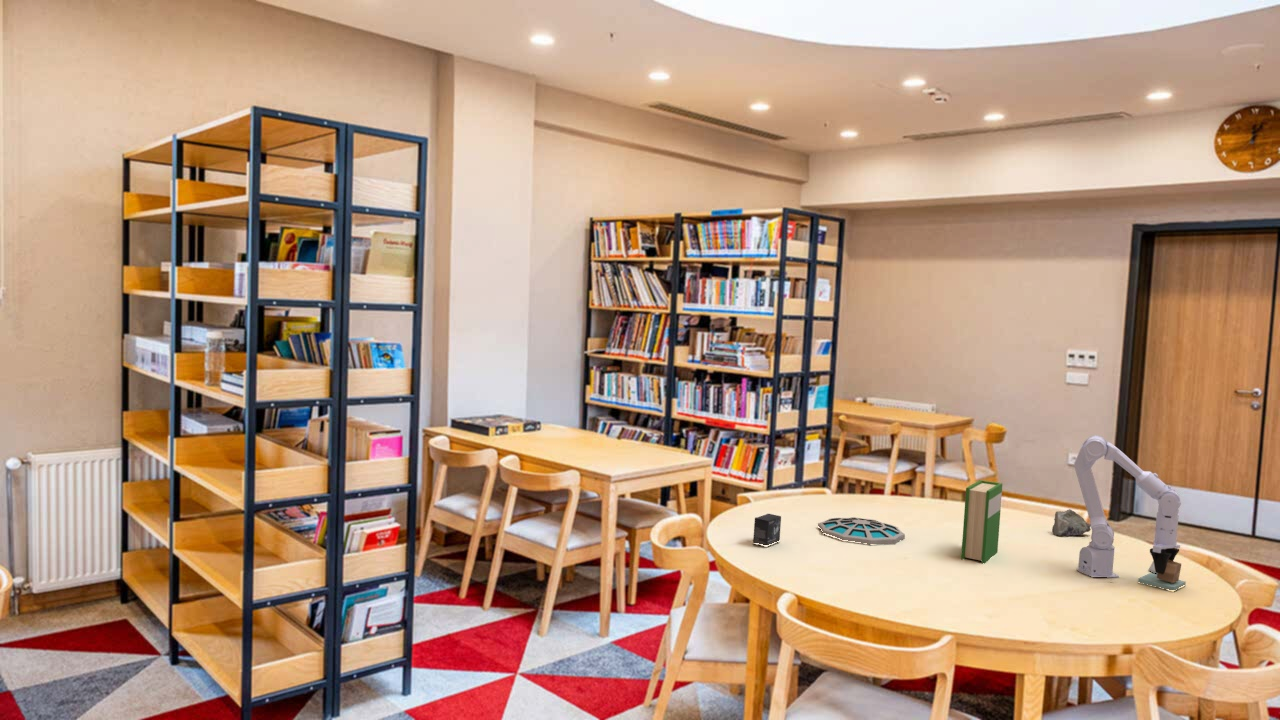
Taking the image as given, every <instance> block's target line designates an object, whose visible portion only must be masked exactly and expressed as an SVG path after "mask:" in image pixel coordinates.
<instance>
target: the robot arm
mask: <svg viewBox="0 0 1280 720" xmlns="http://www.w3.org/2000/svg"><path fill="white" fill-rule="evenodd" d="M1103 457H1104V460H1106V461H1113V462H1115V464H1117V465H1118V466H1120V467H1121V468H1122V469H1123V470H1125V471H1126V472H1128V473H1129V474H1130V475H1131V476H1132V477H1134V479H1135V484H1136V486H1138V488H1140V489H1141V490H1142V491H1143V492H1145V493H1146V494H1147V495H1148V496H1150V498H1151V499H1153V500H1156V501H1157V503H1158V504H1157V505H1158V506H1157V507H1158V509H1157V512H1156V518H1155V530H1154V531H1155V533H1154V540H1153V545H1152V548H1150V549H1149V553H1150V555H1151V557H1152V560H1153V561H1154V566H1155V571H1156V573H1160V574H1164V572H1165V569H1166V565H1167V561H1168V560H1171V561H1174V560H1175V558H1176V556H1177V555H1178V553H1179V552H1180V548H1181V545H1180V544H1178V543H1177V541H1178V539H1177V536H1178V526H1179V513H1180V510H1179V509H1180V507H1181V505H1182V502H1181V499H1180V495H1179V494H1178V493H1177V492H1176V490H1175V489H1173V488H1172V486H1171V485H1170V484H1166V483H1165V482H1163V481H1162V480H1161V478H1159V474H1157V473H1156V472H1154V473H1153V472H1152V471H1149V470H1148V471H1146V470H1143V469H1142V468H1140V467H1139V465H1137V464H1136V463H1135V462H1134V461H1133V460H1132V459H1130V458H1129V456H1127V455H1126V454H1125V453H1124V452H1123V451H1121V450H1120V449H1119V448H1118V447H1117V446H1115V445H1114V444H1113V443H1111V442H1110V441H1107V440H1106V439H1105V438H1104V437H1103V436H1101V435H1095V434H1094V435H1090V436H1089V437H1088V438H1087V439H1086V440H1084V442H1083V443H1082V445H1081V447H1080V449H1079V452H1078V454H1077V456H1076V459H1075V461H1074V463H1073V466H1074V470H1075V473H1076V477H1077V480H1078V484H1079V487H1080V490H1081V495H1082V498H1083V501H1084V505H1085V509H1086V511H1087V515H1088V518H1089V522H1090V523H1089V524H1091V527H1090V529H1091V535H1090V540H1091V541H1089V543H1088V544H1087V546H1084V547H1082V548H1081V549H1080V550H1079V554H1078V556H1079V557H1078V568H1076V569H1075V570H1076V571H1077V570H1078V571H1077V572H1080V573H1082V574H1084V575H1086V576H1088V575H1089V576H1088V577H1090V576H1091V577H1090V578H1093V577H1107V578H1119V577H1120V576H1119V574H1116V573H1114V560H1115V546H1114V545H1113V544H1114V540H1115V539H1114V537H1115V531H1114V529H1113V527H1111V525H1110V524H1109V522H1108V519H1107V517H1106V514H1105V511H1104V507H1103V504H1102V500H1101V497H1100V495H1099V491H1098V486H1097V483H1096V481H1095V477H1094V473H1093V470H1092V467H1093V466H1094V465H1095V464H1096V462H1097V461H1098V460H1100V459H1101V458H1103ZM1153 561H1152V562H1153Z"/></svg>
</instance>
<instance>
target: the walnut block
mask: <svg viewBox="0 0 1280 720" xmlns="http://www.w3.org/2000/svg"><path fill="white" fill-rule="evenodd" d="M1181 570H1182V563H1181V562H1177V561H1174V560H1173V561H1171V560H1168V561H1167V565H1166V569H1165V572H1164V574H1160V573H1157V574H1156V575H1157V578H1159V579H1162V580H1165V581H1168V582H1171V583H1174V582H1177V581H1179V580H1180V576H1181V575H1180V574H1181Z"/></svg>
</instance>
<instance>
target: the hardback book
mask: <svg viewBox="0 0 1280 720" xmlns="http://www.w3.org/2000/svg"><path fill="white" fill-rule="evenodd" d="M1002 495H1003V482H1002V483H1001V482H994V481H988V480H978V481H976V482H974V483H972V484H971V485H969V486H967V487H966V488H965V497H964V498H965V500H964V514H963V515H964V516H963V527H962V528H963V529H962V540H961V541H962V542H961V544H962V545H961V556H960V557H961V558H960V559H961V560H963V559H964V560H966V559H972V560H978V561H981V564H983V563H984V564H986V563H987V562H988V561H989V560H990V558H991V557H992V556H993V557H994V556H995V555H996V554H997V553H999V552H998V551H999V549H998V547H999V536H1000V525H1001V524H1000V523H1001V521H1000V520H1001V509H1002V497H1003V496H1002ZM993 557H992V558H993ZM992 558H991V559H992Z"/></svg>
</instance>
